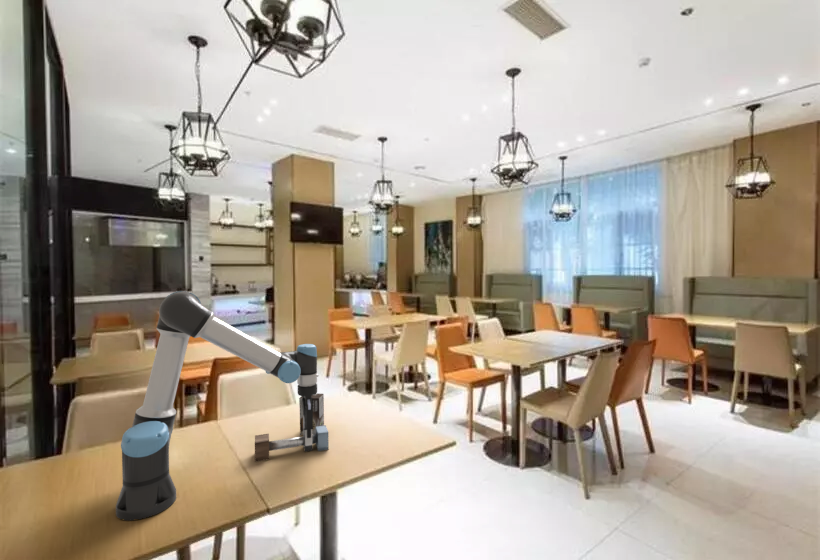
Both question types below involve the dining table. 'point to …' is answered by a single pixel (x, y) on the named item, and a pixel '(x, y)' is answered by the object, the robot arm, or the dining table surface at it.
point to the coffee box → (314, 412)
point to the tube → (293, 441)
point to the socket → (322, 438)
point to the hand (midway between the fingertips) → (307, 442)
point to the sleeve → (261, 447)
